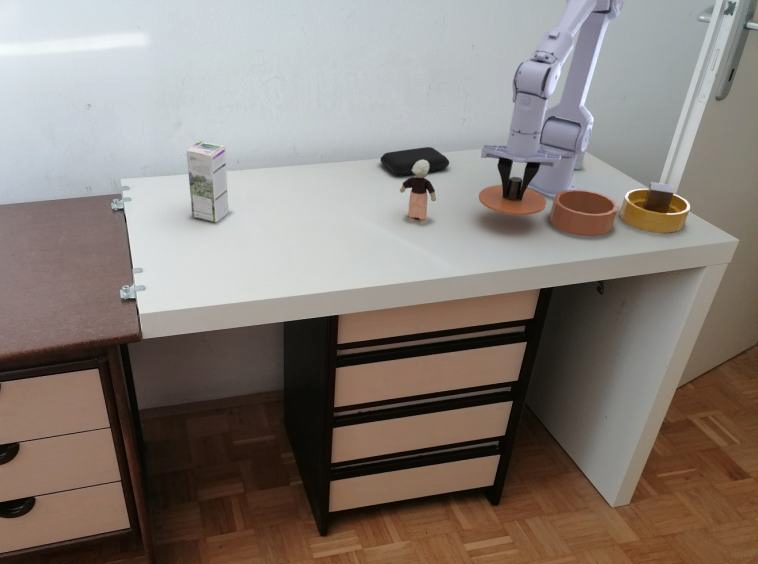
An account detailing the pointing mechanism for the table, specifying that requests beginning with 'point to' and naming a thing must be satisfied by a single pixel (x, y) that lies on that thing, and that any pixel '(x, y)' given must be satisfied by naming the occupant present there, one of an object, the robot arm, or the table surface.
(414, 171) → the grandmother figurine
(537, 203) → the lid
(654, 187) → the walnut block
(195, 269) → the table surface
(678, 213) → the bowl
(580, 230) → the pot
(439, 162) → the carrying case
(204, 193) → the syrup box
